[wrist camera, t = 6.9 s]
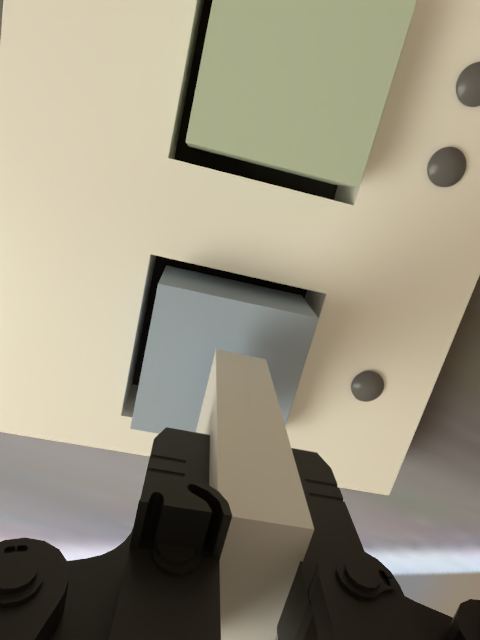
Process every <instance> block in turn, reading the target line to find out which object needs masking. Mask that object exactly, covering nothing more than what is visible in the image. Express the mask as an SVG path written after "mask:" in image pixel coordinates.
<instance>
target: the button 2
mask: <svg viewBox="0 0 480 640" xmlns="http://www.w3.org/2000/svg"><path fill="white" fill-rule="evenodd" d="M416 3H417V0H213V1H212V6H211V11H210V16H209V21H208V27H207V32H206V37H205V42H204V47H203V53H202V58H201V63H200V68H199V73H198V79H197V84H196V89H195V94H194V99H193V105H192V110H191V115H190V120H189V125H188V131H187V136H186V141H185V142H186V143H187V145H188V146H189V147H192V148H195V149H199V150H203V151H207V152H211V153H215V154H218V155H222V156H226V157H230V158H234V159H238V160H241V161H245V162H249V163H253V164H257V165H261V166H264V167H268V168H272V169H276V170H280V171H284V172H287V173H291V174H295V175H299V176H303V177H307V178H310V179H314V180H318V181H322V182H326V183H330V184H333V185H342V186H350V187H360V183H361V180H362V177H363V174H364V170H365V167H366V164H367V161H368V157H369V154H370V151H371V148H372V145H373V141H374V138H375V135H376V132H377V128H378V125H379V122H380V119H381V116H382V112H383V109H384V106H385V103H386V99H387V96H388V93H389V90H390V87H391V83H392V80H393V77H394V74H395V70H396V67H397V64H398V61H399V58H400V54H401V51H402V48H403V45H404V41H405V38H406V35H407V32H408V28H409V25H410V22H411V19H412V16H413V12H414V9H415V6H416Z"/></svg>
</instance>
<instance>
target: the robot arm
mask: <svg viewBox="0 0 480 640" xmlns="http://www.w3.org/2000/svg"><path fill="white" fill-rule="evenodd" d="M337 485H338V484H337V482H336V479H335V477H334V474H333V472H332V469H331V467H330V466H329V465H328V464H327V463H326V462H325V461H324V460H323V459H322V457H321V456H320V455H319V454H318V453H317V452H311V451H306V450H300V449H294V448H291V445H290V442H289V438H288V435H287V431H286V428H285V424H284V421H283V417H282V414H281V410H280V406H279V403H278V399H277V396H276V392H275V389H274V385H273V382H272V378H271V375H270V371H269V368H268V364H267V361H266V359H262V358H258V357H253V356H248V355H243V354H238V353H233V352H228V351H223V350H218V349H216V351H215V355H214V359H213V363H212V367H211V371H210V375H209V379H208V384H207V388H206V392H205V396H204V400H203V404H202V408H201V412H200V416H199V421H198V425H197V429H196V432H190V431H185V430H179V429H174V428H168V427H166V428H165V429H164V430H163V431H162V432H161V433H160V434H158V435H157V436H156V437H155V438H154V441H153V445H152V450H151V454H150V459H149V463H148V468H147V472H146V477H145V481H144V486H143V490H142V495H141V499H140V500H139V504H138V509H137V514H136V518H135V523H134V527H133V530H132V532H131V534H130V535H129V536H128V538H127V539H126V540H125V541H124V542H123V543H122V544H121V545H119V546H118V547H117V548H115V549H114V550H112V551H109V552H107V553H105V554H103V555H100V556H95V557H91V558H87V559H80V560H73V561H66V559H65V558H64V556H63V555H62V553H61V552H60V550H59V549H57V548H55V547H54V546H52V545H50V544H49V543H47V542H45V541H41V540H35V539H30V538H20V539H11V540H4V541H1V542H0V640H275V638H276V635H277V634H278V640H480V600H472V599H470V600H468V601H465V602H463V603H461V604H460V606H459V608H458V610H457V612H456V613H455V615H454V617H453V618H452V617H450V616H448V615H445V614H443V613H441V612H438V611H436V610H433V609H431V608H429V607H426V606H424V605H422V604H419V603H417V602H415V601H413V600H411V599H409V598H407V597H405V596H404V594H403V592H402V590H401V588H400V586H399V584H398V582H397V581H396V579H395V578H394V576H393V575H392V573H391V572H390V571H389V570H388V569H387V568H386V567H385V566H384V565H383V564H382V563H381V562H380V561H379V560H378V559H376V558H374V557H372V556H371V555H369V554H367V553H366V552H364V549H363V547H362V544H361V542H360V539H359V537H358V534H357V532H356V529H355V527H354V524H353V522H352V519H351V517H350V514H349V512H348V509H347V507H346V504H345V502H343V497H342V494H341V492H340V489H339V488H337Z"/></svg>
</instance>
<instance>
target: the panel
mask: <svg viewBox="0 0 480 640" xmlns="http://www.w3.org/2000/svg"><path fill="white" fill-rule="evenodd" d="M203 4H204V0H3V14H2V28H1V42H0V432H4V433H10V434H16V435H23V436H29V437H35V438H41V439H47V440H53V441H59V442H65V443H71V444H78V445H84V446H90V447H96V448H102V449H108V450H114V451H120V452H126V453H133V454H139V455H145V456H150V454H151V450H152V445H153V441H154V438H155V437H156V436H157V435H158V433H152V432H146V431H140V430H134V429H130V427H131V422H132V417H133V412H134V406H135V401H136V396H137V391H138V386H139V385H133V384H132V383H133V377H134V372H135V367H136V361H137V356H138V351H139V345H140V340H141V335H142V329H143V324H144V319H145V313H146V308H147V303H148V297H149V292H150V287H151V281H152V276H153V271H154V265H155V260H156V256H160V257H165V258H169V259H174V260H178V261H183V262H187V263H191V264H196V265H200V266H205V267H209V268H214V269H218V270H222V271H227V272H231V273H236V274H240V275H245V276H249V277H254V278H258V279H262V280H267V281H271V282H276V283H280V284H285V285H289V286H294V287H298V288H302V289H307V292H306V295H305V298H304V299H305V301H306V302H307V303H308V305H309V306H310V307H311V309H312V310H313V311H314V313H315V314H316V315H317V317H318V318H319V319H318V322H317V325H316V328H315V332H314V335H313V338H312V341H311V345H310V348H309V351H308V354H307V357H306V361H305V364H304V367H303V370H302V374H301V377H300V380H299V383H298V387H297V390H296V393H295V396H294V399H293V403H292V406H291V409H290V412H289V416H288V419H287V422H286V425H285V428H286V431H287V435H288V438H289V442H290V445H291V448H294V449H300V450H306V451H311V452H317V453H318V454H319V455H320V456H321V457H322V459H323V460H324V461H325V462H326V463H327V464H328V465H329V466H330V467H331V469H332V472H333V474H334V477H335V479H336V482H337V484H338V485H337V487H340V488H346V489H352V490H359V491H365V492H371V493H377V494H383V495H389V494H390V492H391V489H392V487H393V485H394V482H395V480H396V477H397V475H398V472H399V470H400V467H401V465H402V463H403V460H404V458H405V455H406V453H407V450H408V448H409V446H410V443H411V441H412V438H413V436H414V433H415V431H416V429H417V426H418V424H419V421H420V419H421V416H422V414H423V412H424V409H425V407H426V404H427V402H428V399H429V397H430V394H431V392H432V390H433V387H434V385H435V382H436V380H437V377H438V375H439V373H440V370H441V368H442V365H443V363H444V360H445V358H446V356H447V353H448V351H449V348H450V346H451V343H452V341H453V338H454V336H455V334H456V331H457V329H458V326H459V324H460V321H461V319H462V317H463V314H464V312H465V309H466V307H467V304H468V302H469V300H470V297H471V295H472V292H473V290H474V287H475V285H476V282H477V280H478V278H479V275H480V0H417V3H416V6H415V9H414V12H413V16H412V19H411V22H410V25H409V28H408V32H407V35H406V38H405V41H404V45H403V48H402V51H401V54H400V58H399V61H398V64H397V67H396V70H395V74H394V77H393V80H392V83H391V87H390V90H389V93H388V96H387V99H386V103H385V106H384V109H383V112H382V116H381V119H380V122H379V125H378V128H377V132H376V135H375V138H374V141H373V145H372V148H371V151H370V154H369V157H368V161H367V164H366V167H365V170H364V174H363V177H362V180H361V183H360V187H350V186H342V185H338V187H337V190H336V194H335V197H334V200H331V199H327V198H323V197H319V196H315V195H311V194H307V193H303V192H299V191H295V190H292V189H288V188H284V187H280V186H276V185H272V184H268V183H264V182H260V181H256V180H252V179H249V178H245V177H241V176H237V175H233V174H229V173H225V172H221V171H217V170H213V169H209V168H205V167H202V166H198V165H194V164H190V163H186V162H182V161H178V160H174V158H175V153H176V148H177V142H178V137H179V132H180V126H181V121H182V116H183V110H184V105H185V100H186V94H187V89H188V84H189V78H190V73H191V68H192V62H193V57H194V52H195V46H196V41H197V36H198V30H199V25H200V20H201V14H202V9H203Z"/></svg>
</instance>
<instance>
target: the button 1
mask: <svg viewBox="0 0 480 640" xmlns="http://www.w3.org/2000/svg"><path fill="white" fill-rule="evenodd" d="M318 319H319V318H318V317H317V315H316V314H315V313H314V311H313V310H312V309H311V307H310V306H309V305H308V303H307V302H306V301H305V299H304V298H303V297H302V295H298V294H293V293H289V292H284V291H280V290H275V289H271V288H266V287H262V286H257V285H253V284H248V283H244V282H239V281H235V280H230V279H226V278H221V277H217V276H212V275H208V274H203V273H199V272H194V271H190V270H186V269H181V268H177V267H172V266H168V265H166V267H165V269H164V272H163V274H162V276H161V278H160V280H159V283H158V287H157V292H156V297H155V302H154V308H153V313H152V318H151V323H150V328H149V334H148V339H147V344H146V349H145V354H144V360H143V365H142V370H141V375H140V380H139V386H138V391H137V396H136V401H135V406H134V412H133V417H132V422H131V427H130V429H134V430H140V431H146V432H152V433H158V434H160V433H161V432H162V431H163V430H164V429H165V428H166V427H168V428H174V429H179V430H185V431H190V432H196V429H197V425H198V421H199V416H200V412H201V408H202V404H203V400H204V396H205V392H206V388H207V384H208V379H209V375H210V371H211V367H212V363H213V359H214V355H215V351H216V349H218V350H223V351H228V352H233V353H238V354H243V355H248V356H253V357H258V358H262V359H266V361H267V364H268V368H269V371H270V375H271V378H272V382H273V385H274V389H275V392H276V396H277V399H278V403H279V406H280V410H281V414H282V417H283V421H284V424H285V425H286V422H287V419H288V416H289V412H290V409H291V406H292V403H293V399H294V396H295V393H296V390H297V387H298V383H299V380H300V377H301V374H302V370H303V367H304V364H305V361H306V357H307V354H308V351H309V348H310V345H311V341H312V338H313V335H314V332H315V328H316V325H317V322H318Z"/></svg>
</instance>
